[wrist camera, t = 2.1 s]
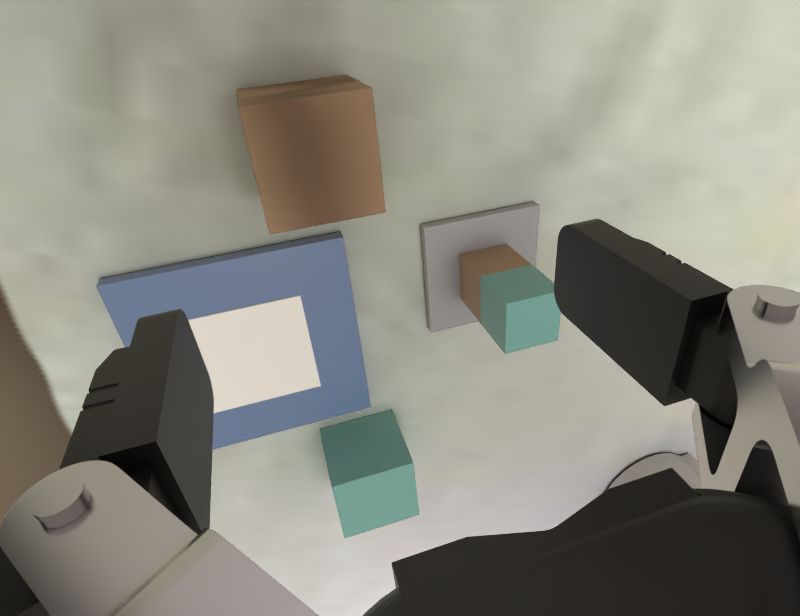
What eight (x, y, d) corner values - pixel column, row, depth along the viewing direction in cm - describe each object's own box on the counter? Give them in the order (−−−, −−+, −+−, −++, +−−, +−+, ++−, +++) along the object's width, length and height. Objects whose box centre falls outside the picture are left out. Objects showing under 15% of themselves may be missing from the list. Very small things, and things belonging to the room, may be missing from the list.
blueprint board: (340, 231, 27) (343, 237, 26) (367, 399, 33) (370, 408, 32) (99, 278, 24) (95, 287, 24) (179, 449, 31) (178, 460, 30)
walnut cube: (346, 74, 23) (371, 87, 19) (360, 180, 26) (385, 212, 22) (237, 89, 22) (238, 106, 18) (263, 197, 25) (269, 234, 21)
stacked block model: (534, 201, 29) (603, 245, 24) (528, 303, 33) (587, 361, 27) (420, 224, 28) (466, 275, 22) (427, 327, 32) (469, 393, 26)
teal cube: (391, 408, 34) (413, 462, 30) (397, 458, 37) (419, 514, 33) (319, 428, 33) (331, 487, 29) (331, 477, 36) (344, 538, 32)
